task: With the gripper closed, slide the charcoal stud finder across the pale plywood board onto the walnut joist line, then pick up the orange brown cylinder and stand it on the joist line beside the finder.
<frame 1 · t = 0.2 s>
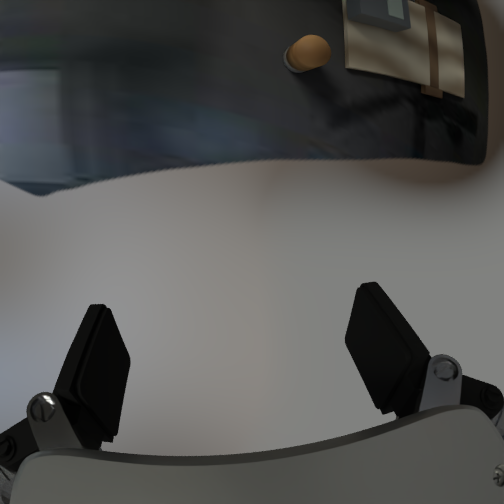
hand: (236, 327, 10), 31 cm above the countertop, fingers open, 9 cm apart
stud finder: (378, 5, 24), point 4 cm above the countertop, slide at 0.0 cm
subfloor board: (410, 40, 30), on the countertop
orange brown cylinder: (297, 59, 31), on the countertop
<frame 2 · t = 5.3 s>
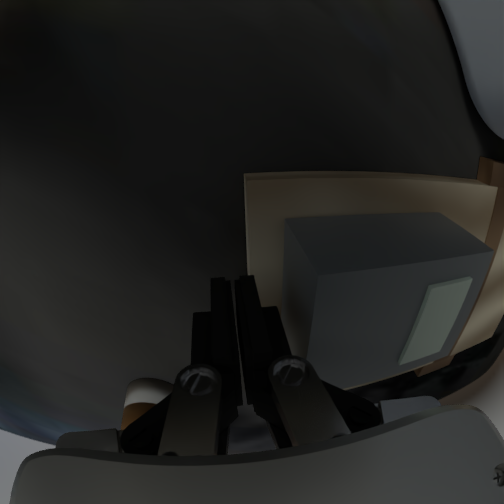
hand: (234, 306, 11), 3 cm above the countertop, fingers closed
stud finder: (384, 300, 11), point 4 cm above the countertop, slide at 1.4 cm, touching gripper
plastic bottle: (499, 25, 8), on the countertop
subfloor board: (429, 287, 16), on the countertop
orange brown cylinder: (154, 394, 18), on the countertop
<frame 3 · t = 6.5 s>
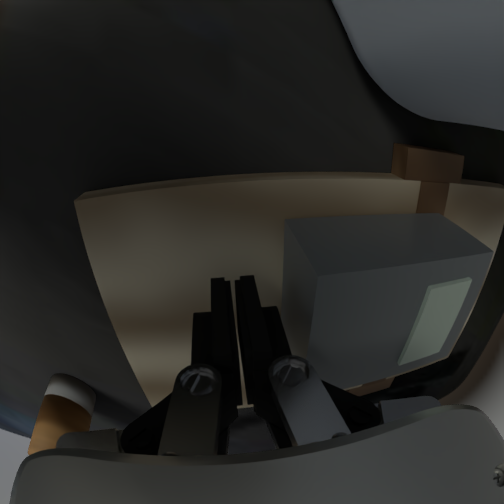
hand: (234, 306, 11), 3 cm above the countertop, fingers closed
stud finder: (384, 300, 11), point 4 cm above the countertop, slide at 8.4 cm, touching gripper
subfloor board: (337, 305, 16), on the countertop
orange brown cylinder: (73, 389, 17), on the countertop
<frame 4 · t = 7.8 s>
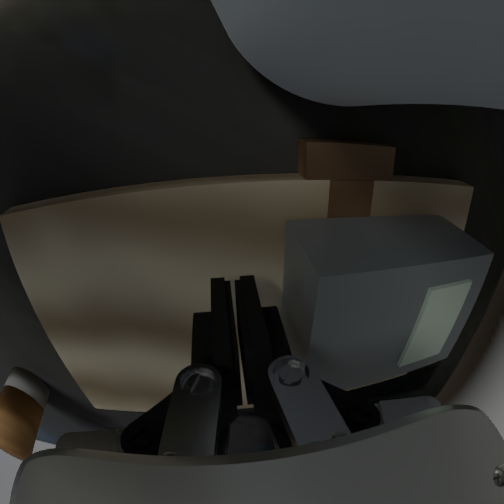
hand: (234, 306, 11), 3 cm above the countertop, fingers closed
stud finder: (384, 302, 11), point 4 cm above the countertop, slide at 13.2 cm, touching gripper
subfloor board: (253, 316, 15), on the countertop
orange brown cylinder: (30, 382, 17), on the countertop
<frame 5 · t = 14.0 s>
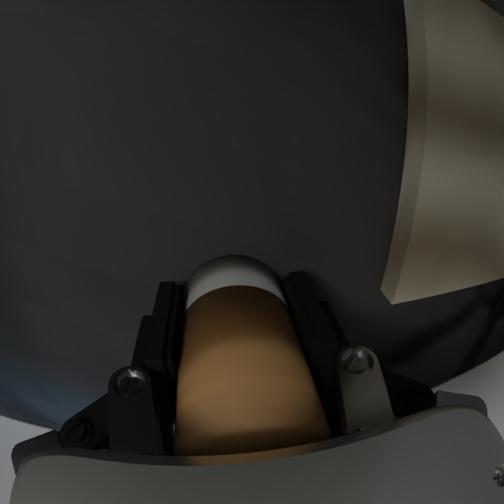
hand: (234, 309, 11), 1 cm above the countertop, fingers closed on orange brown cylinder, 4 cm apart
orange brown cylinder: (232, 297, 12), on the countertop, touching gripper
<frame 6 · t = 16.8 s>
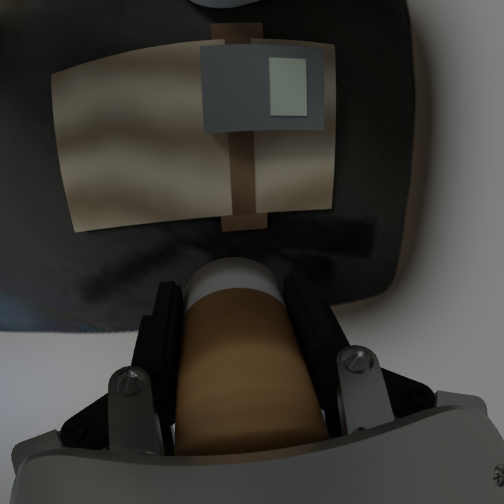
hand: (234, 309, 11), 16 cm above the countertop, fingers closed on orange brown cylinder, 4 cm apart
stud finder: (260, 88, 18), point 4 cm above the countertop, slide at 13.3 cm
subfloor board: (190, 129, 22), on the countertop
orange brown cylinder: (232, 299, 12), point 15 cm above the countertop, touching gripper
when the fingers open (3 cm above the countertop, at t = 19.6 s): orange brown cylinder drops 1 cm, resting on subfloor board.
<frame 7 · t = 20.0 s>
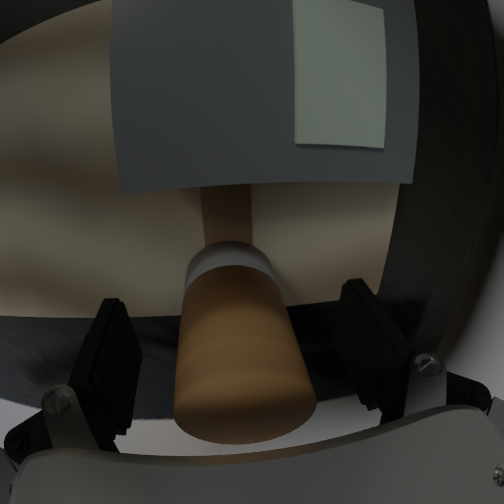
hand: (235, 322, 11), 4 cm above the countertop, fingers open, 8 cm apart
stud finder: (267, 71, 7), point 4 cm above the countertop, slide at 13.3 cm
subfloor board: (131, 160, 11), on the countertop
orange brown cylinder: (229, 280, 13), point 1 cm above the countertop, touching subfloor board
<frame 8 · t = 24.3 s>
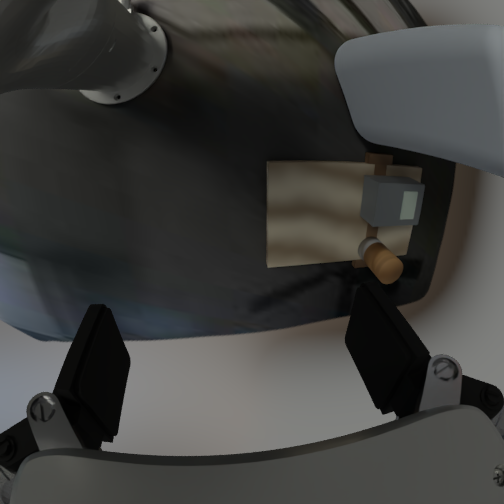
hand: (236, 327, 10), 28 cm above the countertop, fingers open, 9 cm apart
stud finder: (393, 200, 36), point 4 cm above the countertop, slide at 13.3 cm
plastic bottle: (385, 86, 32), on the countertop
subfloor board: (347, 212, 40), on the countertop
orange brown cylinder: (369, 248, 42), point 1 cm above the countertop, touching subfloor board
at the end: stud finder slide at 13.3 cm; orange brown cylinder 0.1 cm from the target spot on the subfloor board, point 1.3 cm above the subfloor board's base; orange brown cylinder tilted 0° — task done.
